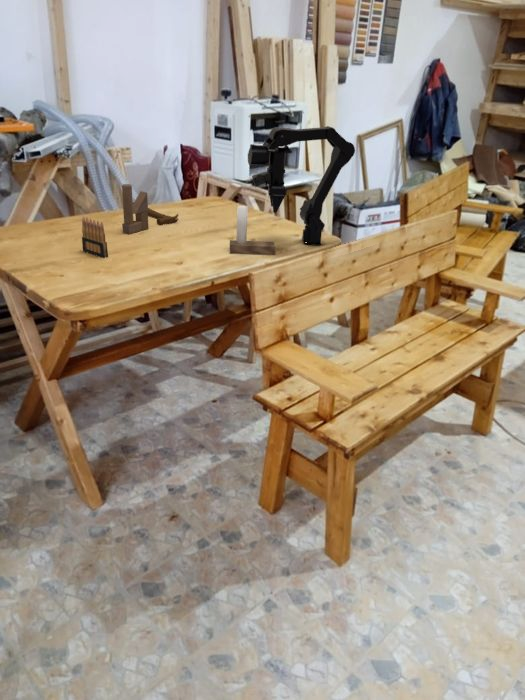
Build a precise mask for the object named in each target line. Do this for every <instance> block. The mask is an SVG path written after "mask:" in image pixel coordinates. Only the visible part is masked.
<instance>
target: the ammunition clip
mask: <svg viewBox="0 0 525 700" xmlns="http://www.w3.org/2000/svg"><path fill="white" fill-rule="evenodd" d="M81 223H82V225H81V226H82V228H81V231H82V237H81V242H82V252H83V251H85V252H84V253H87V252H88V253H87V254H89V255H94V256H96V255H97V256H96V257H99V256H100V257H99V258H102V257H103V258H102V259H106V258H109V252H108V244H107V241H106V233H105V228H104V222H103V221H101V222H100V221H99V220H95V219H93V221H92V219H91V218H90V219H89V218H88V217H86V218H85V217H84V216H82V218H81ZM105 257H106V258H105Z"/></svg>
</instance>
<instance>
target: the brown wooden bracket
mask: <svg viewBox="0 0 525 700" xmlns="http://www.w3.org/2000/svg"><path fill="white" fill-rule="evenodd" d="M121 189H122V190H121V193H122V208H123V209H122V210H123V223H122V224H121V225H122V233H124V234H127V235H131V234H135V233H138V232H141V231H142V230H143V231H146V230H148V229H149V216H148V208H149V205H148V204H149V203H148V202H149V201H148V200H149V198H148V192H145V191H142V190H140V191H139V193H138V195H137V197H136V198H135V200H134V201H133V185H132V184H129V183H124V184H121ZM133 202H134V203H133ZM134 216H135V220H134Z"/></svg>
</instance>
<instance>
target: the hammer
mask: <svg viewBox="0 0 525 700" xmlns="http://www.w3.org/2000/svg"><path fill="white" fill-rule="evenodd" d="M134 202H135V201H133V203H134ZM148 215H149V216H148V217H151V216H152V217H151V218H154V217H155V218H154V219H156V224H157V225H159V226H163V224H164V225H171V224H172V225H173V224H175V223H176V224H177V222H178V221H179V214H178V213H177V214H176V215H174V216H170V215H166V214H164V213H160V212H158V211H155V210H154V209H151V208H149V207H148Z"/></svg>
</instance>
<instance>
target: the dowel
mask: <svg viewBox="0 0 525 700" xmlns="http://www.w3.org/2000/svg"><path fill="white" fill-rule="evenodd" d="M236 210H237V214H236V239H235V240H236V243H237V244H240V245H244V244H246V241H247V238H248V237H247V233H248V216H249V215H248V210H249V207H248V205H237V209H236Z"/></svg>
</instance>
